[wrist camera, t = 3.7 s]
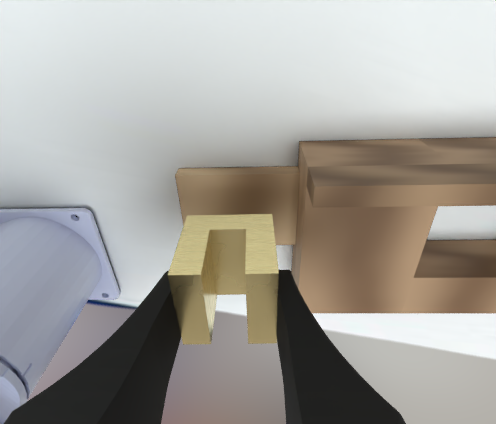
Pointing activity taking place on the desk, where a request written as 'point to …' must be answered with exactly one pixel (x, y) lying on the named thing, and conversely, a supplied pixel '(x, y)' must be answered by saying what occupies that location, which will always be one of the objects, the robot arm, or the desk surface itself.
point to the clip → (225, 274)
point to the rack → (367, 221)
